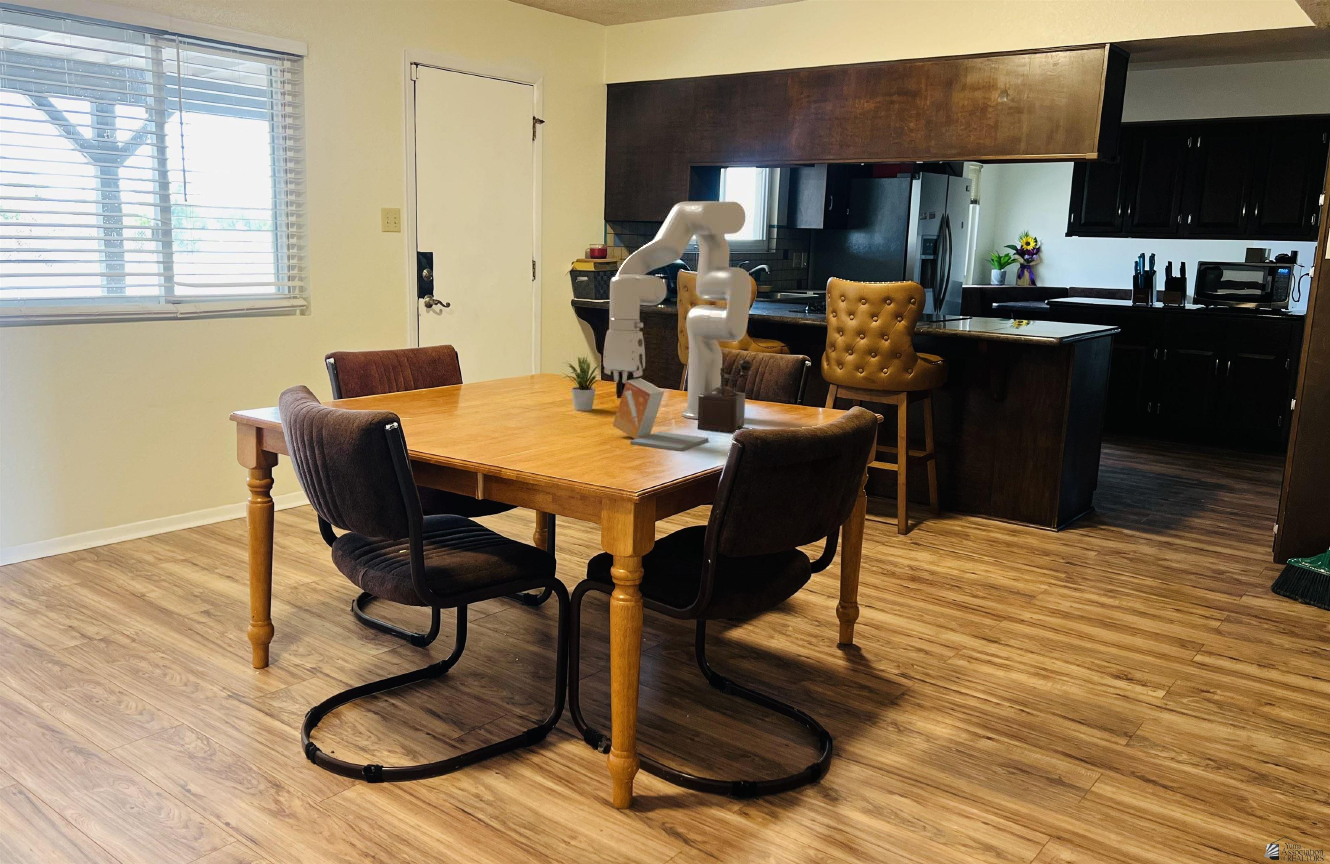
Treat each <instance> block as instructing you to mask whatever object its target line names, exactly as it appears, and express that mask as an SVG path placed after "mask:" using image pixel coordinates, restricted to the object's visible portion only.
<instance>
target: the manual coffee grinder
mask: <svg viewBox="0 0 1330 864" xmlns="http://www.w3.org/2000/svg"><path fill="white" fill-rule="evenodd" d="M738 367H739V369H740V374H739V375H729V374H726V372H725V370H726V368H725V367H724V366H722V367H721V368H720V371H721V372H720V375H721V385H720V387H717V388H714V389H712V390H711V391H709V392H706V393H703V394H701V395H699V396H698V419H697V430H699V429H700V430H701V431H708V430H710V432H718V431H720V433H731V434H733V432H734V433H736V432H737V431H736V430H738V429H740V430H742V429H743V428H744V427H745V412H746V393H745V392H739V391H736V387H733V388H732V387H729V386H725V378H727V379H731V380H738V379H744V380H745V379H746V378H749V377H750V371H751V370H752V369H753V367H754V364H753V362H752V361H751V360H750V359H749V360H748V359H742V360H741V361H739V363H738ZM743 426H744V427H743ZM741 428H742V429H741ZM735 431H736V432H735ZM738 431H739V430H738Z"/></svg>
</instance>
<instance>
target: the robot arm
mask: <svg viewBox="0 0 1330 864" xmlns="http://www.w3.org/2000/svg"><path fill="white" fill-rule="evenodd" d="M745 222H746V212H745V209H744V207H743V206H742V205H741V203H739V202H738V201H713V200H712V201H711V200H708V201H707V200H705V201H703V200H702V201H681V202H678V203H676V204H675V205H673V207H672V208H671V210H670V212H669V213H668V215H667V217H666V218H665V220H664V222H663V223H662V225H661V226H660V228H659V230H658V232H657V233H656V235H655V236H654V238H653V239H652V240H651V241H650V242H647V244H644V245H643V246H642V247H640V248H639V249H637V250H636V251H635V252H633V253H632V254H631V255H629V256H628V257H627V258H626V259H625V261H623V263H622V264H621V266H620V268H619V269H618V271H617V273H616V275H615V276H612V278H611V279H610V281H609V282H610V283H609V324H608V325H609V326H608V330H607V331H606V335H605V340H604V347H603V358H602V359H603V362H602V364H603V367H604V369H603V372H604V373H605V374H607V375H610V376H611V377H612V378H613V381H614V382H615V383H616V386H615V393H616V399H621V397H622V394H623V391H624V388H625V384H626V381H628V380H633V379H636V378H637V377H642V376H643V374H644V372H643V370H644V369H645V368H646V351H645V341H644V336H643V334H644V333H643V331H640V329H642V328H644V323H643V322H642V321H641V319H640V313H641V312H640V308H641V307H640V306H641V305H642V306H643V305H644V306H655V305H658V304H660V303H661V302H663V300H664V299H665V297H666V295H667V285H666V283H665V282H664V280H663V279H662V278H661V277H659V276H656V275H650V274H649V275H648V274H647V273H649V272H651V271H653V270H656V269H659V268H662V267H665V266H667V265H670V264H672V263H675V262H677V261H679V260H680V259H681V258H682V256H683V254H684V253H685V251H686V249H687V247H688V245H689V244H690V242H691V240H692V238H693V237H694V236H695V238H696V241H697V243H698V249H699V250H698V251H699V253H698V263H697V271H696V272H697V273H696V280H695V292H696V296H698V297H699V298H700V299H702V300H706V301H713V302H714V301H715V302H726V304H727V305H726V306H721V305H712V304H710V305H709V304H701V305H696V306H693V307H692V308H691V309H689V311H688V312H687V315H686V319H685V321H686V322H685V324H686V332H687V338H688V371H687V373H688V374H687V399H686V400H687V403H686V404H687V406H686V409H683V410H682V411H681V416H682V417H683V418H688V419H694V420H698V396H699V395H701V394H703V393H706V392H709V391H711V390H712V389H714V388H717V387H720V385H721V375H720V372H721V371H720V368H721V367H723V354H722V353H723V352H722V349H721V346H720V345H719V343H718V341H720V342H721V341H722V342H739V341H741V340H742V339H743V338H744V337H745V334H746V332H747V329H748V321H749V314H750V307H751V306H750V305H751V299H752V298H751V297H752V280H751V276H750V274H749V272H748V271H747V270H745V269H744V268H741V267H733V266H732V267H731V266H729V264H730V253H731V252H730V246H729V243H728V241H727V239H726V237H725V235H731V234H736V233H739V231H741V230H742V229H743V227H744V226H745Z"/></svg>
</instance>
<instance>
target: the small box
mask: <svg viewBox="0 0 1330 864" xmlns="http://www.w3.org/2000/svg"><path fill="white" fill-rule="evenodd" d="M664 395H665V390H664V389H661V388H659V387H657V386H656V385H654V384H653V383H650V382H648V381H647V380H644V379H642V378H641V377H640V378H634V379H633V380H628V381H626V384H625V388H624V391H623V394H622V397H621V398H620V402H619V404H618V407H617V411H616V413H615V417H614V420H613V423H612V428H615V429H617V430H619V431H621V432H622V433H624V434H626V435H627V436H629V437H631V438H632V439H633V440H635V439H638V438H641V437H644V436H647V435H651V434H652V432H653V431H652V430H653V428H654V424H655V423H656V419H657V415H658V412H659V409H660V406H661V403H662V399H663V396H664Z"/></svg>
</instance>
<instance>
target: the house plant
mask: <svg viewBox="0 0 1330 864" xmlns="http://www.w3.org/2000/svg"><path fill="white" fill-rule="evenodd" d="M588 356H589V354H588V355H587V356H583V358H582V357H579V356H576V357H577V361H578V368H579V370H578V369H576V367H575V366H574V365H572V364H571V363H569V362H568V360H566V359H565V361H566V364H567V365H565V367H566V366H567V367H569V368H571V370H572V371H571V372H570V373H571V374H574V375H575V377H573V376H569V375H567V374H565V373H563V372H561V374H564V375H565V376H563V379H565V378H569V379H570V381H569V382H570V383H571V382H573V384H575V385H576V386H573V387H571V396H572V402H573V409H574V411H577V410H579V412H589V411H590V412H591V411H592V410H593V408H594V407H593V406H594V400H595V395H596V394H595V393H596V388H595V387H593V385H594V384H595V383H597V382H602V380H601V379H597V380H595V379H596V378H597V377H596V376H601V375H602V374H601V373H599V374H594V373H595V372H596V370H597V368H598V367H599V366H601V365H602V364H603V362H602V363H601V362H600V363H599V364H597V365H596V366H595V367H594V368H593V369H592V371H591V372H590V370H591V362H590V360H589V359H588ZM562 363H563V364H565V362H562ZM578 371H579V372H578Z"/></svg>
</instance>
